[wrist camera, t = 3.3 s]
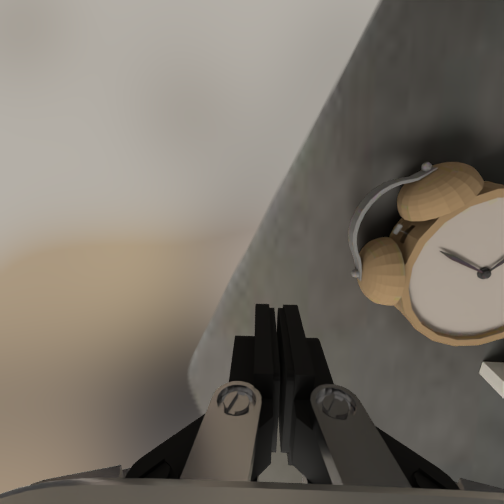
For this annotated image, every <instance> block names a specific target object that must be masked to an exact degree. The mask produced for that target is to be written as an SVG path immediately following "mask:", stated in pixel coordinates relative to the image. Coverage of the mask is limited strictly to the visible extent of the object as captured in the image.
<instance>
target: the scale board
mask: <svg viewBox="0 0 504 504" xmlns="http://www.w3.org/2000/svg"><path fill="white" fill-rule="evenodd" d="M479 374H480V375H481V376H482V377H483V378H484V379H485V380H486V381H487V382H488V383H489V384H490V385H491V386H492V387H493V388H494V389H495V390H496V391H497V392H498V393H499V394H500V395H501V396H502V397H503V398H504V362H482V365H481V368H480V371H479Z"/></svg>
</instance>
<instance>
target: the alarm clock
mask: <svg viewBox="0 0 504 504" xmlns="http://www.w3.org/2000/svg"><path fill="white" fill-rule="evenodd" d="M421 169H422V170H421V171H419V172H417V173H415V174H413V175H411V176H409V177H403V178H398V179H393V180H390V181H387V182H385V183H382V184H381V185H379V186H378V187H376V188H374V189H373V190H372V191H371V192H370V193H369V194H368V195H367V196H366V197H365V198H364V199H363V200H362V201H361V203H360V204H359V205H358V207H357V208H356V210H355V212H354V214H353V216H352V218H351V222H350V225H349V229H348V241H349V246H350V249H351V251H352V254H353V258H354V263H355V269H354V270H352V271H351V275H352V276H353V277H357V280H358V283H359V286H360V288H361V290H362V292H363V293H364V294H365V295H366V296H367V297H368V298H369V299H370V300H371V301H373V302H375V303H377V304H382V305H394V306H395V307H396V308H397V309H398V310H400V312H401V313H402V314H403V315H404V316H405V317H406V318H407V319H408V320H409V321H410V322H411V324H412V326H413V327H414V328H415V329H416V330H418V331H419V332H421V333H422V334H424V335H425V336H427V337H428V338H430V339H431V340H433V341H436V342H440V343H444V344H448V345H452V346H469V345H481V344H484V343H488V342H491V341H495V340H498V339H502V338H504V185H502V184H496V183H493V182H490V181H483V179H482V177H481V176H480V174H479V173H478V171H477V170H476V169H475V168H473V167H472V166H470V165H467V164H464V163H460V162H445V163H440V164H436V165H433V166H432V164H431V163H429V162H425V163H423V164H422V166H421ZM402 184H404V185H403V186H402V188H401V190H400V192H399V194H398V197H397V207H398V212H399V214H400V216H401V217H402V218H401V219H400V220H399V222H398V223H397V224H396V225H395V226H394V228H393V230H392V232H391V234H390V236H389V237H381V238H377V239H374V240H371V241H370V242H368V243H367V244H366V245H365V246H364V247H363V248H362V250H361V251H360V253H358V249H357V233H358V230H359V226H360V223H361V221H362V219H363V217H364V215H365V213H366V212H367V210H368V209H369V208H370V207H371V205H372V204H373V203H374V202H375V201H376V200H377V199H378V198H379V197H380V196H381V195H382V194H384V193H385V192H387V191H388V190H390V189H392V188H394V187H397V186H399V185H402Z"/></svg>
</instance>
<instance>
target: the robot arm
mask: <svg viewBox="0 0 504 504" xmlns="http://www.w3.org/2000/svg"><path fill="white" fill-rule="evenodd" d="M278 419H279V433H280V446H281V452H282V453H287V456H288V465H293V466H294V467H295V468H297V469H298V470H299V471H300V472H301V473H302V481H303V483H278V482H259V475H260V474H261V473H262V472H263V471H264V470H265V469H266V468H267V467H268V466H269V465H270V464H271V452H276V445H277V428H278ZM0 504H504V489H502V488H498V487H494V486H490V485H486V484H482V483H478V482H474V481H470V480H466V479H463V478H459V481H458V482H454V481H453V480H452V479H451V478H450V477H449V476H448V475H447V474H446V473H444V472H443V471H442V470H441V469H439V468H438V467H436V466H435V465H433V464H432V463H430V462H429V461H427V460H426V459H424V458H423V457H421V456H420V455H418V454H417V453H415V452H414V451H412V450H411V449H409V448H408V447H406V446H405V445H403V444H401V443H400V442H398V441H397V440H395V439H394V438H392V437H391V436H389V435H388V434H386V433H385V432H383V431H382V430H380V429H379V428H377V427H376V426H375V425H374V423H373V422H372V420H371V418H370V417H369V415H368V413H367V412H366V410H365V408H364V407H363V405H362V403H361V402H360V400H359V399H358V398H357V396H356V395H355V394H354V393H352V392H351V391H350V390H348V389H346V388H344V387H342V386H339V385H335V384H334V383H333V380H332V377H331V374H330V371H329V368H328V365H327V362H326V359H325V356H324V353H323V350H322V347H321V344H320V341H319V339H318V338H306V337H305V333H304V330H303V326H302V322H301V318H300V314H299V310H298V306H297V305H283V308H278V317H277V332H276V322H275V312H274V308H269V304H256V309H255V336H235V341H234V348H233V356H232V363H231V370H230V378H229V382H227V383H225V384H223V385H221V386H220V387H219V388H217V389H216V390H215V392H214V394H213V395H212V398H211V400H210V403H209V406H208V408H207V411H206V413H205V414H204V415H203V416H201V417H200V418H198V419H197V420H195V421H194V422H192V423H191V424H189V425H188V426H187V427H185V428H184V429H182V430H181V431H179V432H178V433H177V434H175V435H173V436H172V437H171V438H169V439H168V440H166V441H165V442H163V443H162V444H160V445H159V446H157V447H156V448H155V449H153V450H152V451H151V452H149V453H148V454H146V455H144V456H143V457H142V458H140V459H139V460H138V461H137V462H136V463H135V464H134V465H133V466H132V467H131V468H128V469H123V470H122V467H121V465H118V466H113V467H109V468H103V469H98V470H93V471H87V472H82V473H77V474H72V475H66V476H61V477H56V478H51V479H46V480H42V481H39V482H36V483H33V484H31V485H30V486H25V487H20V488H17V489H14V490H11V491H8V492H5V493H2V494H0Z"/></svg>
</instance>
